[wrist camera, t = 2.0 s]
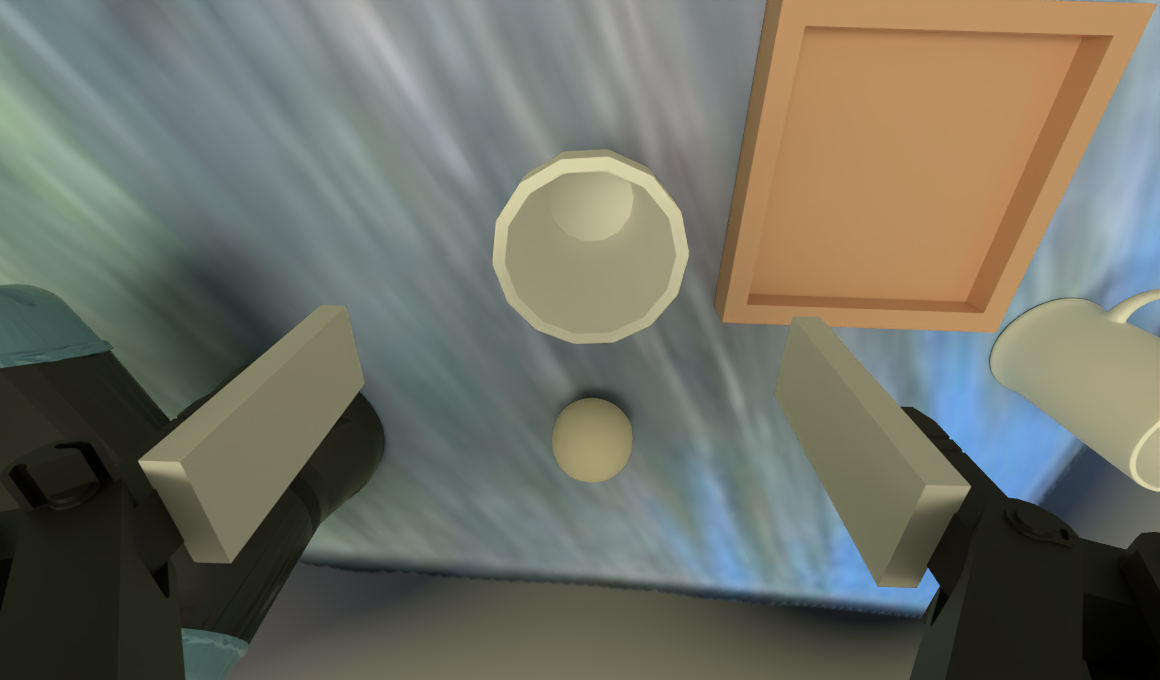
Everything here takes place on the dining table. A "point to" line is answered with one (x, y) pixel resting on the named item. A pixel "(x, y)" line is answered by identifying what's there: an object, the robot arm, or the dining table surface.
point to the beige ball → (592, 440)
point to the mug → (1090, 377)
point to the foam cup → (590, 247)
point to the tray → (912, 155)
